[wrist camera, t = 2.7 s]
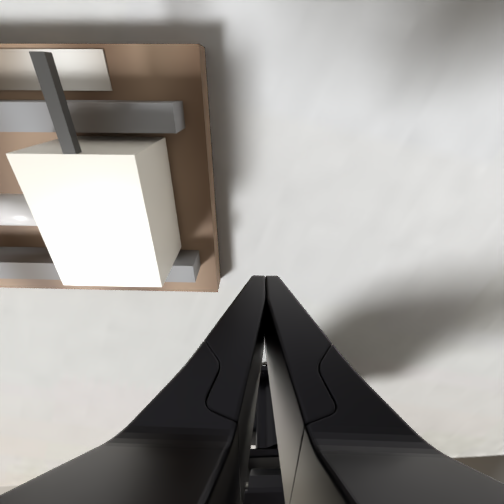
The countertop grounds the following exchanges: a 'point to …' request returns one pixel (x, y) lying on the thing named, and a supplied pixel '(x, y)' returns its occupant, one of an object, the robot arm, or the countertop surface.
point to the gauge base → (115, 125)
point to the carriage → (95, 199)
